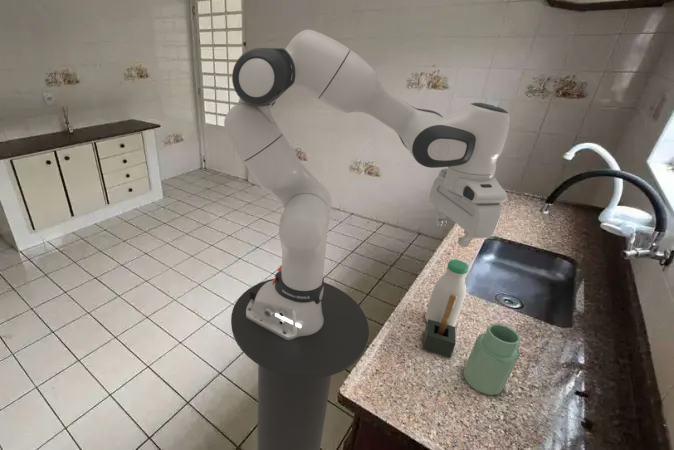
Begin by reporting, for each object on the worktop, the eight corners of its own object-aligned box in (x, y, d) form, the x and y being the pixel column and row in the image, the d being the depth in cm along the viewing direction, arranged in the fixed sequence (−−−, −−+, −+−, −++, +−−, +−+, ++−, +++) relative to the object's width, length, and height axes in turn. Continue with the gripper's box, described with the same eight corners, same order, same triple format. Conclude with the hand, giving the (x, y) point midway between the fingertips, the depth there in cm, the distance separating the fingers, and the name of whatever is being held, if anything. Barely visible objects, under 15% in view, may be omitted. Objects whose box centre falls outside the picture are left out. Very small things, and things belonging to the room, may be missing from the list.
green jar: (463, 386, 81) (484, 339, 74) (462, 361, 87) (481, 316, 80) (504, 400, 78) (529, 353, 71) (500, 373, 84) (523, 327, 77)
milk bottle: (453, 335, 95) (475, 276, 85) (422, 325, 98) (440, 266, 89) (455, 318, 101) (476, 261, 91) (426, 309, 104) (443, 252, 95)
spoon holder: (422, 349, 91) (427, 335, 89) (423, 332, 96) (428, 319, 94) (450, 357, 88) (455, 343, 86) (450, 340, 93) (455, 326, 91)
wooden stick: (433, 347, 92) (450, 296, 83) (433, 340, 93) (450, 290, 85) (439, 348, 91) (457, 298, 83) (439, 342, 93) (457, 292, 85)
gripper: (429, 166, 86) (417, 216, 93) (482, 199, 68) (462, 258, 74) (454, 165, 86) (440, 215, 93) (514, 198, 68) (491, 257, 75)
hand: (450, 235), depth 83 cm, fingers open, 8 cm apart
